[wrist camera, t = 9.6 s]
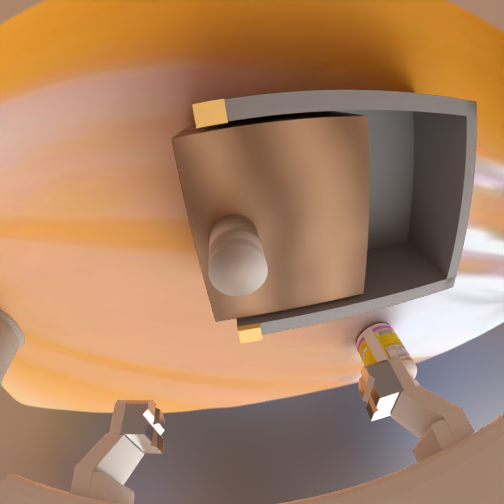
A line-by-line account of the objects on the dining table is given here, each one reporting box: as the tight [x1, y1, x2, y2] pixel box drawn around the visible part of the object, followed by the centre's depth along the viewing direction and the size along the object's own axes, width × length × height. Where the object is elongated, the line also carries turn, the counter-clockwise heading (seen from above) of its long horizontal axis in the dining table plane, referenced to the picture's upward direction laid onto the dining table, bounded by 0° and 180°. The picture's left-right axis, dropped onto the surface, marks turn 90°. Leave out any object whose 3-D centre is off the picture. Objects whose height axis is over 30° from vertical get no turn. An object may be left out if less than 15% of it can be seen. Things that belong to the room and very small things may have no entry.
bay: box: [192, 90, 477, 343], centre depth 26 cm, size 24×20×11 cm
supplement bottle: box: [356, 323, 419, 386], centre depth 38 cm, size 7×7×13 cm
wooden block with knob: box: [172, 111, 370, 322], centre depth 24 cm, size 14×16×13 cm
